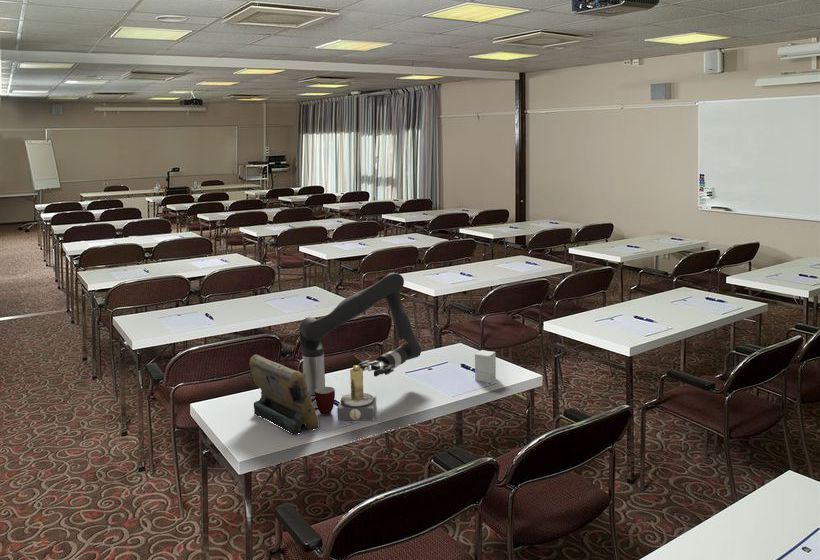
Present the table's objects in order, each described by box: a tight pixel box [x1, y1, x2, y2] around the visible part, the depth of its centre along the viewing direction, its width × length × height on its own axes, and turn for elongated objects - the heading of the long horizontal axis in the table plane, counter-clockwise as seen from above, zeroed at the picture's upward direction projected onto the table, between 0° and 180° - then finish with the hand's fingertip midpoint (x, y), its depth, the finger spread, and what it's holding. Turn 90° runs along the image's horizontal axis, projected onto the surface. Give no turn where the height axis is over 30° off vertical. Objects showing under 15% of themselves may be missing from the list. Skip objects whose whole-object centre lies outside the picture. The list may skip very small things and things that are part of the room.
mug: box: [311, 386, 336, 416], centre depth 273 cm, size 10×8×10 cm
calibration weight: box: [349, 364, 364, 401], centre depth 271 cm, size 5×5×14 cm
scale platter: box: [340, 392, 373, 407], centre depth 273 cm, size 13×13×1 cm
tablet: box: [248, 354, 319, 435], centre depth 265 cm, size 33×14×25 cm, turn 49°
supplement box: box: [474, 349, 497, 383], centre depth 309 cm, size 7×7×13 cm
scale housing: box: [336, 394, 377, 421], centre depth 273 cm, size 14×15×5 cm
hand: (366, 372), depth 276 cm, fingers open, 8 cm apart
